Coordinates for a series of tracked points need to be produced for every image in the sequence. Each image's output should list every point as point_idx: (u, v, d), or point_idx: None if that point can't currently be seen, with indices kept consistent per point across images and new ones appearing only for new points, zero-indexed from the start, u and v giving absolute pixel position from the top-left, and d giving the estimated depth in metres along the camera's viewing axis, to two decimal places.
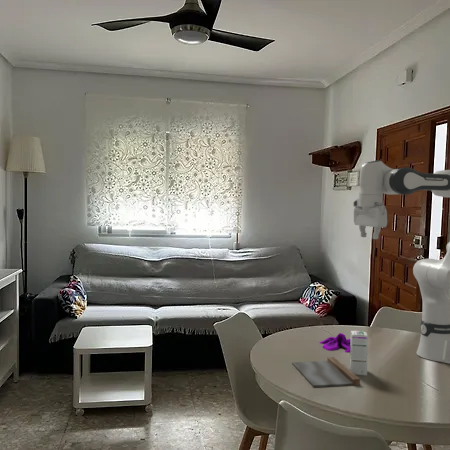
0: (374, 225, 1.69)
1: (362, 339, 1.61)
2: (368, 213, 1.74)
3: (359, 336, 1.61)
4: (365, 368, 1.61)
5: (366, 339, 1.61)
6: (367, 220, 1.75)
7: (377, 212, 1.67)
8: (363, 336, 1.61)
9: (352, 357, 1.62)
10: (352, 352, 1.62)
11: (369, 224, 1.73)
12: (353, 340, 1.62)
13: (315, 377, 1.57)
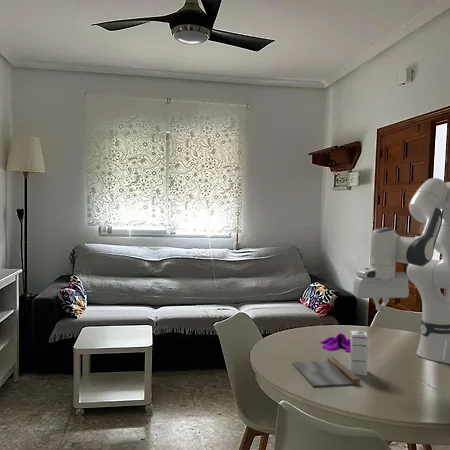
0: (401, 296, 1.64)
1: (362, 339, 1.61)
2: (387, 284, 1.63)
3: (359, 336, 1.61)
4: (365, 368, 1.61)
5: (366, 339, 1.61)
6: (387, 292, 1.63)
7: (406, 283, 1.64)
8: (363, 336, 1.61)
9: (352, 357, 1.62)
10: (352, 352, 1.62)
11: (392, 296, 1.63)
12: (353, 340, 1.62)
13: (315, 377, 1.57)
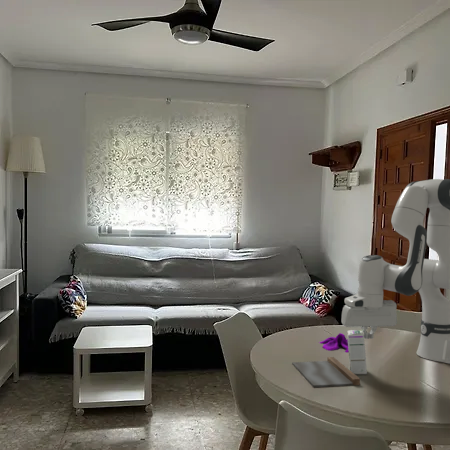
0: (389, 324, 1.64)
1: (359, 338, 1.61)
2: (375, 312, 1.63)
3: (355, 335, 1.62)
4: (364, 367, 1.61)
5: (363, 338, 1.61)
6: (375, 320, 1.63)
7: (394, 311, 1.64)
8: (359, 335, 1.61)
9: (350, 357, 1.62)
10: (350, 352, 1.62)
11: (380, 324, 1.63)
12: (350, 340, 1.62)
13: (315, 377, 1.57)
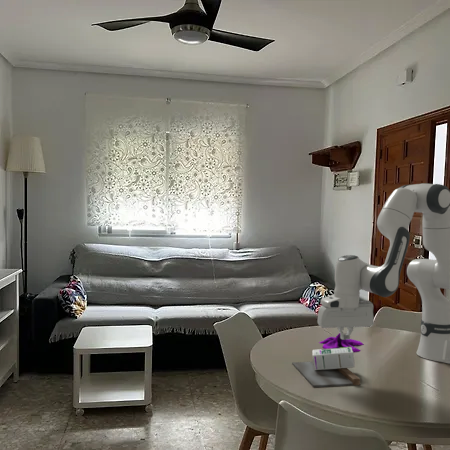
0: (366, 325, 1.62)
1: (317, 359, 1.63)
2: (352, 313, 1.61)
3: (314, 362, 1.64)
4: (346, 354, 1.61)
5: (316, 356, 1.63)
6: (352, 321, 1.61)
7: (370, 312, 1.62)
8: (313, 359, 1.64)
9: (337, 367, 1.62)
10: (332, 368, 1.63)
11: (356, 325, 1.61)
12: (319, 368, 1.63)
13: (315, 377, 1.57)
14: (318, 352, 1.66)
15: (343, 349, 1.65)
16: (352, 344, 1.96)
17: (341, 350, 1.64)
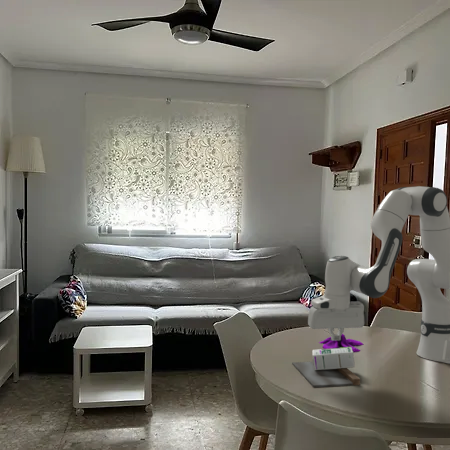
0: (356, 326, 1.62)
1: (317, 359, 1.63)
2: (342, 314, 1.61)
3: (314, 362, 1.64)
4: (346, 354, 1.61)
5: (316, 356, 1.63)
6: (342, 322, 1.61)
7: (361, 313, 1.62)
8: (313, 359, 1.64)
9: (337, 367, 1.62)
10: (332, 368, 1.63)
11: (346, 326, 1.61)
12: (319, 368, 1.63)
13: (315, 377, 1.57)
14: (318, 352, 1.66)
15: (343, 349, 1.65)
16: (352, 344, 1.96)
17: (341, 350, 1.64)
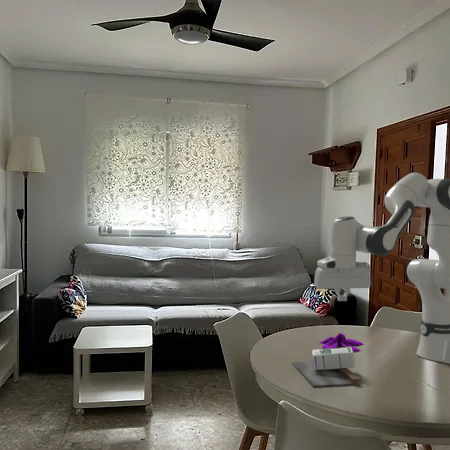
0: (363, 286, 1.61)
1: (317, 359, 1.63)
2: (348, 274, 1.60)
3: (314, 362, 1.64)
4: (346, 354, 1.61)
5: (316, 356, 1.63)
6: (348, 282, 1.60)
7: (367, 273, 1.61)
8: (313, 359, 1.64)
9: (337, 367, 1.62)
10: (332, 368, 1.63)
11: (353, 286, 1.61)
12: (319, 368, 1.63)
13: (315, 377, 1.57)
14: (318, 352, 1.66)
15: (343, 349, 1.65)
16: (352, 344, 1.96)
17: (341, 350, 1.64)
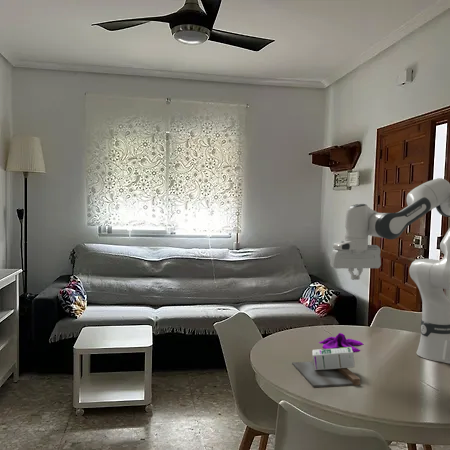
0: (374, 266, 1.80)
1: (317, 359, 1.63)
2: (361, 255, 1.79)
3: (314, 362, 1.64)
4: (346, 354, 1.61)
5: (316, 356, 1.63)
6: (361, 262, 1.79)
7: (378, 254, 1.80)
8: (313, 359, 1.64)
9: (337, 367, 1.62)
10: (332, 368, 1.63)
11: (365, 266, 1.79)
12: (319, 368, 1.63)
13: (315, 377, 1.57)
14: (318, 352, 1.66)
15: (343, 349, 1.65)
16: (352, 344, 1.96)
17: (341, 350, 1.64)
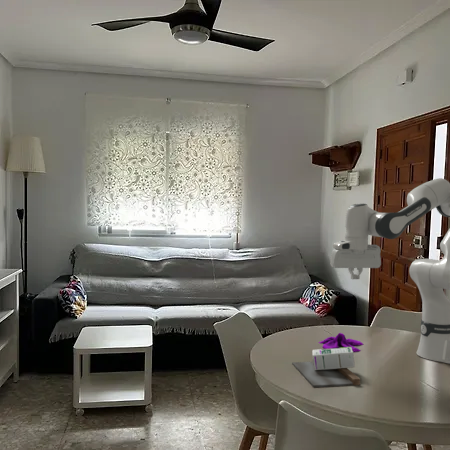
0: (374, 266, 1.80)
1: (317, 359, 1.63)
2: (361, 255, 1.79)
3: (314, 362, 1.64)
4: (346, 354, 1.61)
5: (316, 356, 1.63)
6: (361, 262, 1.79)
7: (378, 254, 1.80)
8: (313, 359, 1.64)
9: (337, 367, 1.62)
10: (332, 368, 1.63)
11: (365, 266, 1.79)
12: (319, 368, 1.63)
13: (315, 377, 1.57)
14: (318, 352, 1.66)
15: (343, 349, 1.65)
16: (352, 344, 1.96)
17: (341, 350, 1.64)
